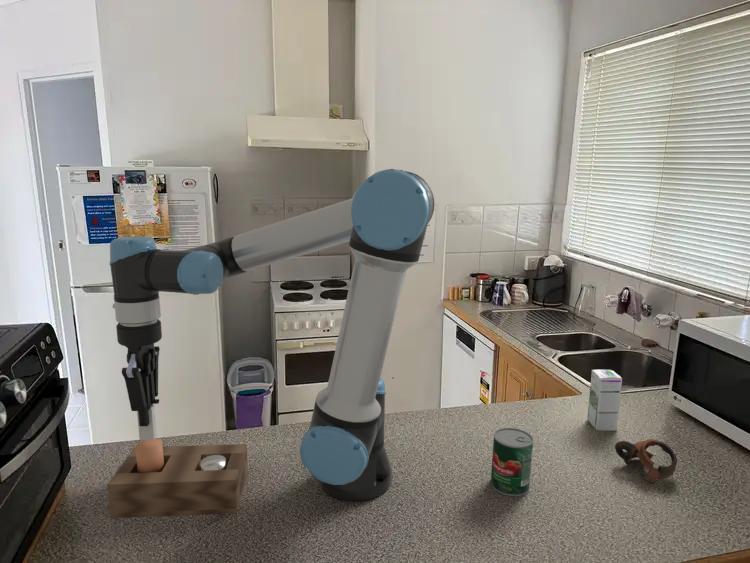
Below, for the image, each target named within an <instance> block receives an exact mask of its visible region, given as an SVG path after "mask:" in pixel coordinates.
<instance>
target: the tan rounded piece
mask: <svg viewBox="0 0 750 563" xmlns="http://www.w3.org/2000/svg"><path fill="white" fill-rule="evenodd" d="M163 447H164V445H163V440H162V439H161V438H157V437H156V438H155V439H154V440H139V442H137V443H135V447H134V448H136V459H137V470H138V473H149V472H162V470H163V468H164V457H163Z"/></svg>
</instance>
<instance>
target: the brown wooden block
mask: <svg viewBox="0 0 750 563" xmlns="http://www.w3.org/2000/svg"><path fill="white" fill-rule="evenodd" d="M211 455H221V456H224V457H225V458H226V470H207V471H201V465H200V463H201V461H202V460H203V459H204V458H206V457H208V456H211ZM163 457H164V468H163V470H162V472H149V473H138V470H137V459H136V448H135V447H133V449H132V450H131V451H130V452H129V453H128V456H127V457H125V460H124V461H123V462H122V464H121V465H120V466H119V467H118V469H117V471H115V473H114V474H113V476H112V477H111V479H110V480H109V481H108V482H107V484H106V486H107V496H108V497H107V498H108V506H109V507H108V508H109V516H110V519H131V518H132V519H134V518H151V517H152V518H157V517H177V516H178V517H179V516H180V517H181V516H199V515H200V516H201V515H205V516H206V515H223V514H224V515H226V514H227V515H228V514H229V515H230V514H237V513H238V511H239V508H240V504H241V502H242V501H241V500H242V497H243V493H244V491H245V486H246V483H247V479H248V476H249V466H248V465H249V464H248V461H249V460H248V444H247V443H242V444H241V443H238V444H237V443H236V444H210V445H209V444H206V445H178V446H177V445H176V446H175V445H173V446H170V445H169V446H163Z"/></svg>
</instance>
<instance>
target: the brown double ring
mask: <svg viewBox="0 0 750 563" xmlns="http://www.w3.org/2000/svg"><path fill="white" fill-rule="evenodd" d="M654 446H659V447H660V448H661V451H663V452H665V453H666V454H668V455H669V457H670V460H671V464H670V465H668V466H663V465H658V467H654V464H655V463H654V461H653V460H652V458H653V457H654V454H653V453H651V452H649V451H648V450H647V449H648V448H649V447H654ZM614 451H615V453H616V454H617V456H618V457H620V458H621V459H622V460H623V461H624V463H625V465H627V466H629V463H630V461H631V460H632V459H635V458H638V459H639V461H640V462H641V464H642V465H643V466H644V467H645V469H646V470H648V473H647V474H646V475H645V480H646V481H648V482H650V483H654V482H656V481H657V480H658V481H661V480H664V479H667V478H670V477H672V476H674V472H675V471H676V467H677V463H678V458H677V455H676V453H675V451H674V450H673V449H672V448H671V447H670V446H669V445H667V444H666V443H665V442H662V441H660V440H658V439H653V438H652V439H645V440H640V441H638V442H635V443H632V442H629V441H625V440H619V441H618V442H616V444H615V445H614Z"/></svg>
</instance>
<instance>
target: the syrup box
mask: <svg viewBox="0 0 750 563" xmlns="http://www.w3.org/2000/svg"><path fill="white" fill-rule="evenodd" d="M590 376H591V378H590V386H589V388H590V389H589V395H588V396H589V398H588V406H587V407H588V408H587V419H586V420H587V422H588V423H589V424H590V425H591V426H592V427H593V429H594V430H596V431H601V432H602V431H603V432H604V431H607V432H608V431H609V432H610V431H611V432H613V431H615V432H617V431H618V422H619V413H620V404H621V395H622V385H623V384H622V383H623V378H622V377H621V375H619V374H618V373H616V372H615V371H614V370H613V369H591V374H590Z"/></svg>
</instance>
